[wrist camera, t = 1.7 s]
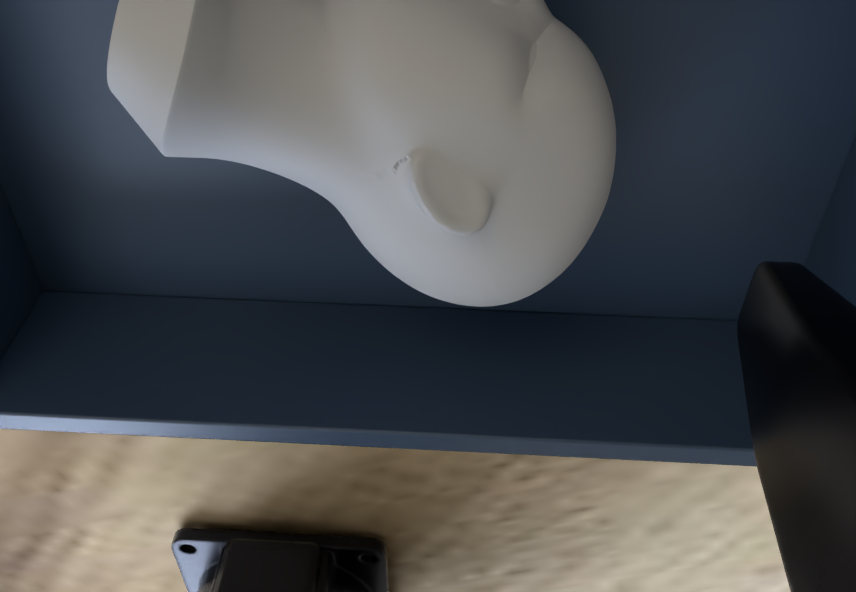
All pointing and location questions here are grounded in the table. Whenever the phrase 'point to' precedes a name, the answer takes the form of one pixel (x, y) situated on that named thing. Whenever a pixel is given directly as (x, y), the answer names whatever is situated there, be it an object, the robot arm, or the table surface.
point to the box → (397, 301)
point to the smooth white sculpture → (391, 123)
